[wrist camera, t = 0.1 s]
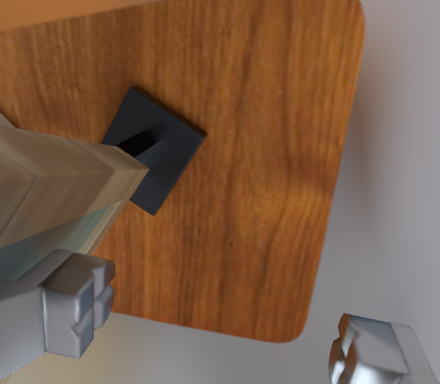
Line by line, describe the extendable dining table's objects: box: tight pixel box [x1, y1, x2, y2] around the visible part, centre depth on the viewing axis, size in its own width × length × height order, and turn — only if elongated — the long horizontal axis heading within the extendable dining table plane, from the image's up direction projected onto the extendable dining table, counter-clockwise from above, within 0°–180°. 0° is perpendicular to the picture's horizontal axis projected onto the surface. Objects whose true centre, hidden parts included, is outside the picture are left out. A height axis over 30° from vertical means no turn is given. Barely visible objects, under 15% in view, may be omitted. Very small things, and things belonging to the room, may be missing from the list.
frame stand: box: [101, 86, 207, 216], centre depth 19 cm, size 6×8×22 cm
